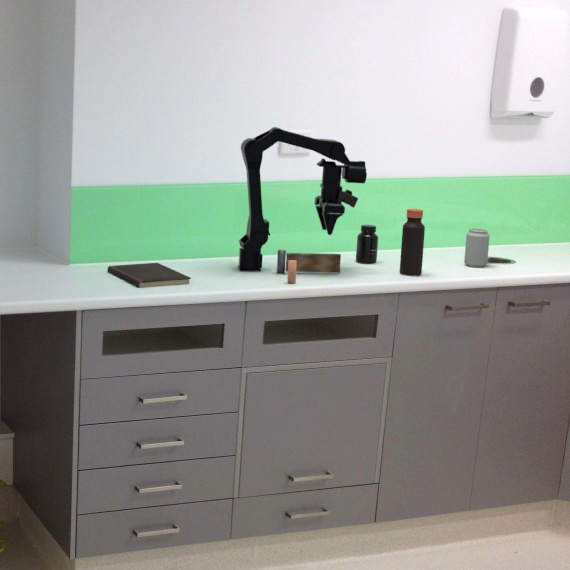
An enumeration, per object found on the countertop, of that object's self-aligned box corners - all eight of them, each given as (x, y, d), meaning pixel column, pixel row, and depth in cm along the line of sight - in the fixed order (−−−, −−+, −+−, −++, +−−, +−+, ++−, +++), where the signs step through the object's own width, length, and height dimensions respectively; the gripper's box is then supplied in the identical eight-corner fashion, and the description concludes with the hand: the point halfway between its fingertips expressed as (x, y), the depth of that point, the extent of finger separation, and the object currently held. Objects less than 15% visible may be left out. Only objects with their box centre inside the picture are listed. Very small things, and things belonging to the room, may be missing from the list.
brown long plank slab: (286, 271, 323) (287, 254, 322) (285, 270, 325) (286, 252, 324) (339, 272, 326) (340, 254, 324) (338, 271, 327) (339, 253, 326)
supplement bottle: (375, 264, 344) (377, 228, 341) (354, 263, 345) (356, 226, 343) (377, 261, 350) (380, 224, 348) (357, 259, 352) (359, 223, 349)
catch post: (288, 283, 310) (289, 261, 308) (286, 281, 312) (287, 259, 311) (296, 283, 310) (297, 261, 309) (294, 281, 312) (296, 260, 311)
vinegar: (408, 270, 337) (413, 207, 332) (425, 274, 332) (430, 210, 328) (395, 273, 332) (399, 209, 328) (412, 277, 327) (416, 212, 323)
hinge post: (277, 273, 322) (278, 251, 321) (276, 272, 325) (277, 249, 323) (285, 274, 323) (286, 251, 321) (284, 272, 325) (285, 249, 324)
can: (461, 266, 348) (464, 229, 346) (466, 262, 355) (469, 226, 353) (484, 268, 346) (487, 232, 343) (489, 265, 353) (492, 229, 350)
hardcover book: (157, 270, 323) (157, 262, 322) (190, 285, 303) (191, 277, 303) (107, 273, 315) (107, 266, 314) (138, 289, 295) (138, 281, 295)
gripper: (363, 187, 318) (358, 238, 322) (351, 179, 336) (346, 228, 340) (326, 185, 317) (322, 236, 320) (316, 177, 335) (312, 226, 338)
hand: (327, 232), depth 329 cm, fingers open, 9 cm apart
